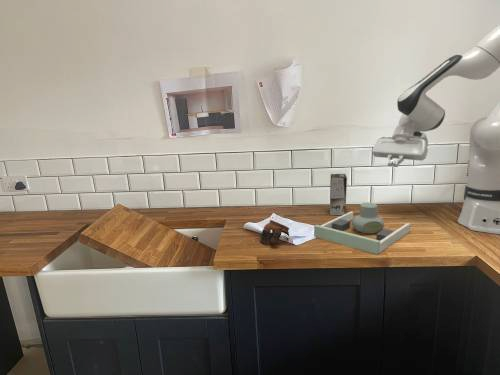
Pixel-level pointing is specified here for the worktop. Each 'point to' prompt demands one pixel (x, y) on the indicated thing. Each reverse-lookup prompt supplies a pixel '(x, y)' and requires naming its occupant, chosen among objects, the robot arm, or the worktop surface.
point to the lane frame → (357, 236)
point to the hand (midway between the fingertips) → (392, 165)
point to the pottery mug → (273, 232)
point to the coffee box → (338, 194)
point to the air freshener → (368, 219)
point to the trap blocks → (344, 225)
